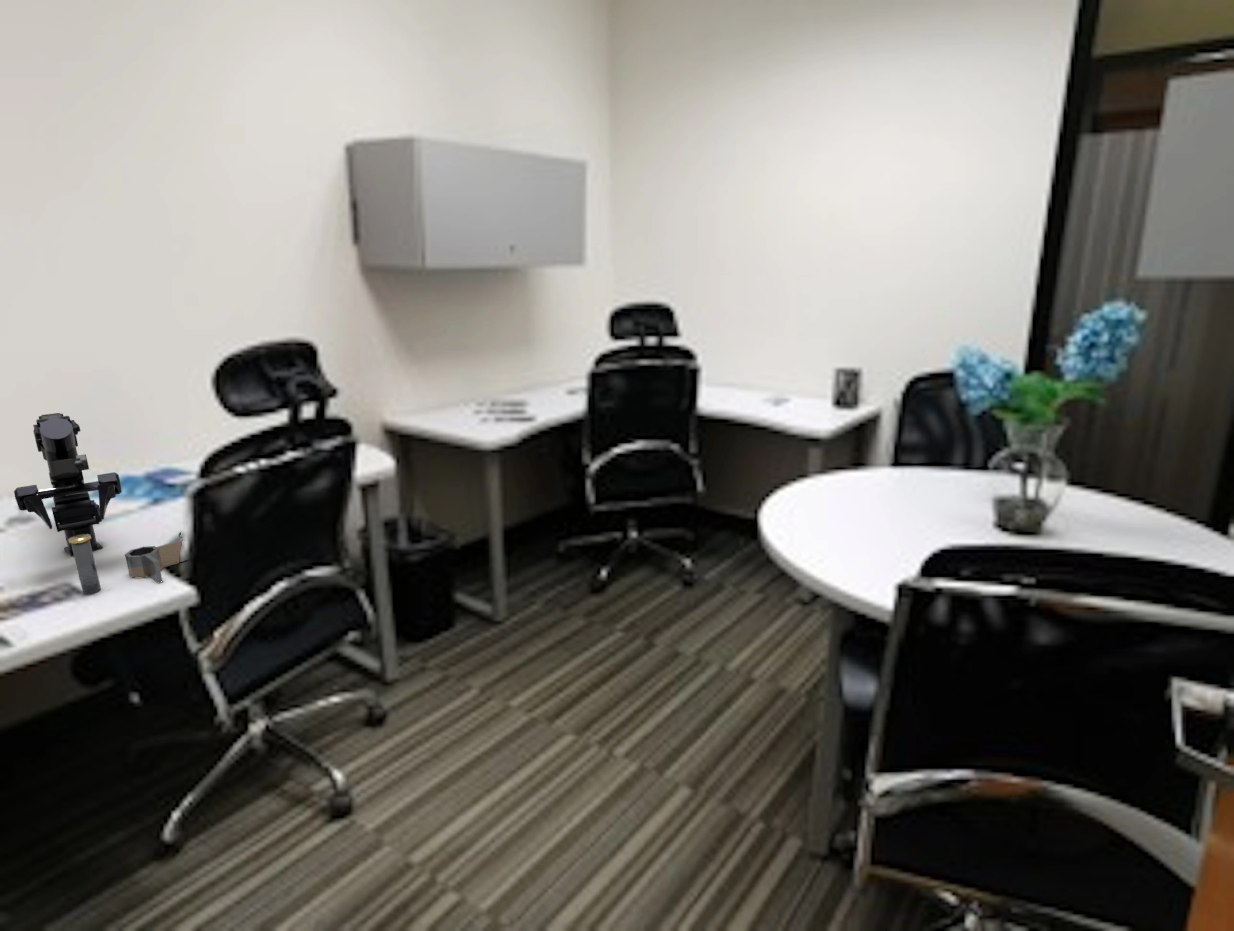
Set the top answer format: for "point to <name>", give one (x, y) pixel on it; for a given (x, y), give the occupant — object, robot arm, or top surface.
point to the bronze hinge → (152, 559)
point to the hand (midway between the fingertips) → (77, 523)
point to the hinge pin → (85, 563)
